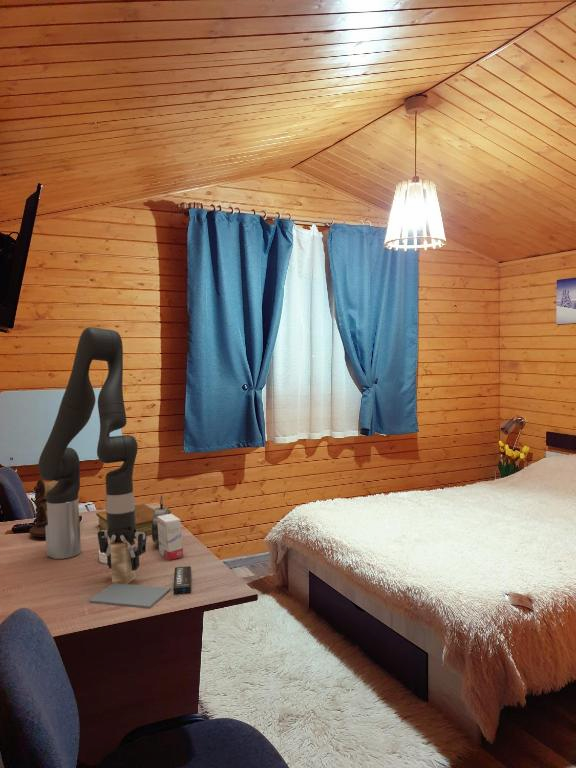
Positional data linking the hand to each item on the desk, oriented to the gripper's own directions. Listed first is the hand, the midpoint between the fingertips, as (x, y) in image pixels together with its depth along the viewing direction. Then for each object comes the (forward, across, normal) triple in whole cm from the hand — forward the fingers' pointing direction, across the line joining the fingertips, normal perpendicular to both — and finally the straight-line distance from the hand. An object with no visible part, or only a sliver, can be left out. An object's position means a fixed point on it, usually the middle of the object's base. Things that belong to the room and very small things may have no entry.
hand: (123, 568), depth 158 cm
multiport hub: (+4, +17, +1) cm, 17 cm away
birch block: (+3, 0, 0) cm, 3 cm away
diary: (+4, -23, +43) cm, 48 cm away
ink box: (+3, +4, +20) cm, 21 cm away
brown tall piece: (+3, -48, +32) cm, 58 cm away
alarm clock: (+3, -3, +29) cm, 29 cm away
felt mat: (+3, +7, -9) cm, 12 cm away
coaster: (+4, -12, +15) cm, 20 cm away
